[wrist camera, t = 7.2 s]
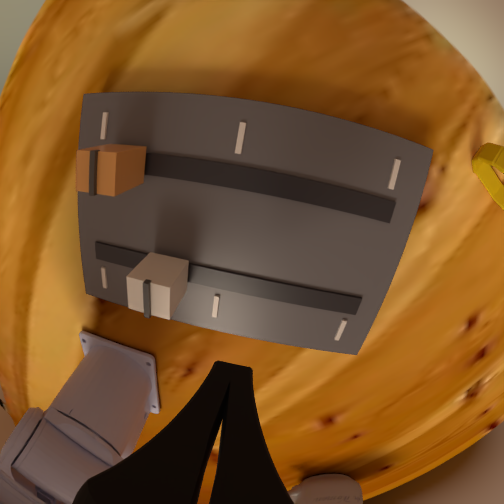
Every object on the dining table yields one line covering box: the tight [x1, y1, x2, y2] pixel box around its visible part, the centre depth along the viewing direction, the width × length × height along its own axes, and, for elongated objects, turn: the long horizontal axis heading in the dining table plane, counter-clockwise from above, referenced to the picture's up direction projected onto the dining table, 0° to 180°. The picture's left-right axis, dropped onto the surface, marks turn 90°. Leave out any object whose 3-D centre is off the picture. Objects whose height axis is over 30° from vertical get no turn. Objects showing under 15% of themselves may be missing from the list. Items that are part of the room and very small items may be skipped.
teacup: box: [287, 474, 363, 504], centre depth 28 cm, size 14×11×8 cm
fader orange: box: [76, 144, 147, 197], centre depth 13 cm, size 2×2×3 cm
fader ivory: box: [126, 252, 189, 320], centre depth 15 cm, size 2×2×3 cm
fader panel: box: [78, 92, 433, 355], centre depth 16 cm, size 14×20×2 cm
